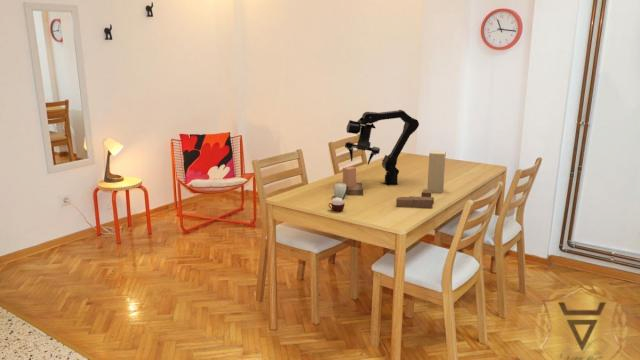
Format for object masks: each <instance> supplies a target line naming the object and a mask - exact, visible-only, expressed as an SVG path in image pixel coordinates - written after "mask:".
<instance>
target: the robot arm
mask: <svg viewBox="0 0 640 360" xmlns="http://www.w3.org/2000/svg"><path fill="white" fill-rule="evenodd" d="M392 119H401V121H402V122H404V125H403V128H402V132H401V134H400V136H399V137H398V139H397V141H396V143H395V145H394V146H393V149H392V150H391V152H390V153H389V154H385V155H384V158H383V159H382V160H381V161H382V163H381V167H382V168H383V169H384V170H385V174H384V183H385V184H386V185H387V186H389V185H392V186H393V185H399V183H398V176H399V172H400V169H398V168H397V167H396V166H397V164H398V158H399V156H400V154H401V153H402V150H403V149H404V148H405V145H406V143H407V142H408V140H409V138H410V136H411V135H412V134H414V133H415V132H416V131H417V129H418V128H419V126H420V122H419V120H417V118H414V117H411V116H410V115H409V114H408V113H406V112H405V110H403V109H398V110H389V111H383V112H382V111H381V112H376V111H374V112H373V111H365V112H363V114H362V115H361V116H360V118H359V119H358V120H356V121H355V120H352V119H349V120H348V123H347V125H346V134H347V133H348V134H355V135H358V134H359V137H358V141H357V144H355V142H351V141H347V142H346V143H345V144H344V145H345V146H344V148H346V149H347V150H348V151H349V152H348V153H349V156H350V161H351V162H352V161H353V159H354V158H353V157H354V149H356V150H360V151H363V152H364V151H369V152H370V154H369V156H368V157H369V158H368V160H367V165H369V164H370V163H371V160H372V158H373V157H374V156H376V155H377V154H378V155H379V154H380V152H381V151H380V150H381V149H380V147H379V146H372V147H371V142H370V138H371V134H372V129H376V126H375V125H374V123H377V122H379V121H383V120H384V121H385V120H392Z"/></svg>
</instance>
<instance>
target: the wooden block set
mask: <svg viewBox="0 0 640 360" xmlns="http://www.w3.org/2000/svg"><path fill="white" fill-rule="evenodd" d="M395 199H396V200H395V201H396V203H395V205H396V206H395V207H398V208H413V207H415V209H416V208H417V209H433V204H434V202H435V198H434V197H433V196H432V192H431V190H427V189H423V190H422V191H421V196H415V195H414V196H411V195H410V196H398V197H396V198H395Z"/></svg>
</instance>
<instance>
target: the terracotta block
mask: <svg viewBox="0 0 640 360" xmlns="http://www.w3.org/2000/svg"><path fill="white" fill-rule="evenodd" d="M342 183H345V184H346V187H347V186H349V187H348V188H350V187H355V186H356V183H357V168H356V167H354V166H344V167H343V168H342Z"/></svg>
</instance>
